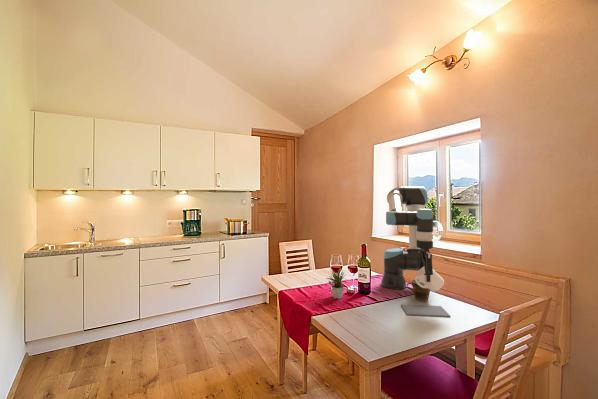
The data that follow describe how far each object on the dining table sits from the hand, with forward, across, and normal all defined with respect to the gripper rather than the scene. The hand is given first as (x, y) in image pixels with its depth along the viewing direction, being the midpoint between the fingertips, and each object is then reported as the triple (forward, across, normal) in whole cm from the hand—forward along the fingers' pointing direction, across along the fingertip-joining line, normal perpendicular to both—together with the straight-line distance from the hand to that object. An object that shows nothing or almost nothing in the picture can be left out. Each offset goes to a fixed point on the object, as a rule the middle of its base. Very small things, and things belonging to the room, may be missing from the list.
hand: (424, 285), depth 141 cm
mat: (+13, 0, 0) cm, 13 cm away
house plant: (+13, +16, +43) cm, 48 cm away
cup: (+1, 0, -5) cm, 5 cm away
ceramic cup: (+13, +16, -2) cm, 21 cm away
